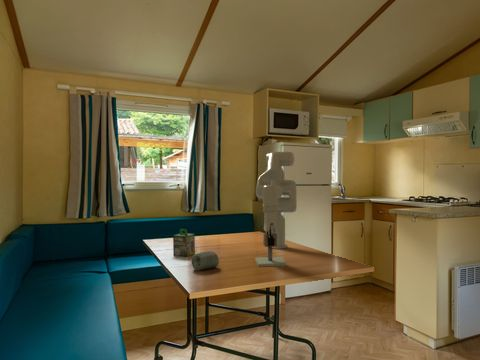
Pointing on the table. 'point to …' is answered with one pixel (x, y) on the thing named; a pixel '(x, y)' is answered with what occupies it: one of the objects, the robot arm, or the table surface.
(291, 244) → the table surface
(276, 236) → the collar
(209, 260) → the grey green cylinder
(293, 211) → the robot arm
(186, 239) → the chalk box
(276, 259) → the post board
